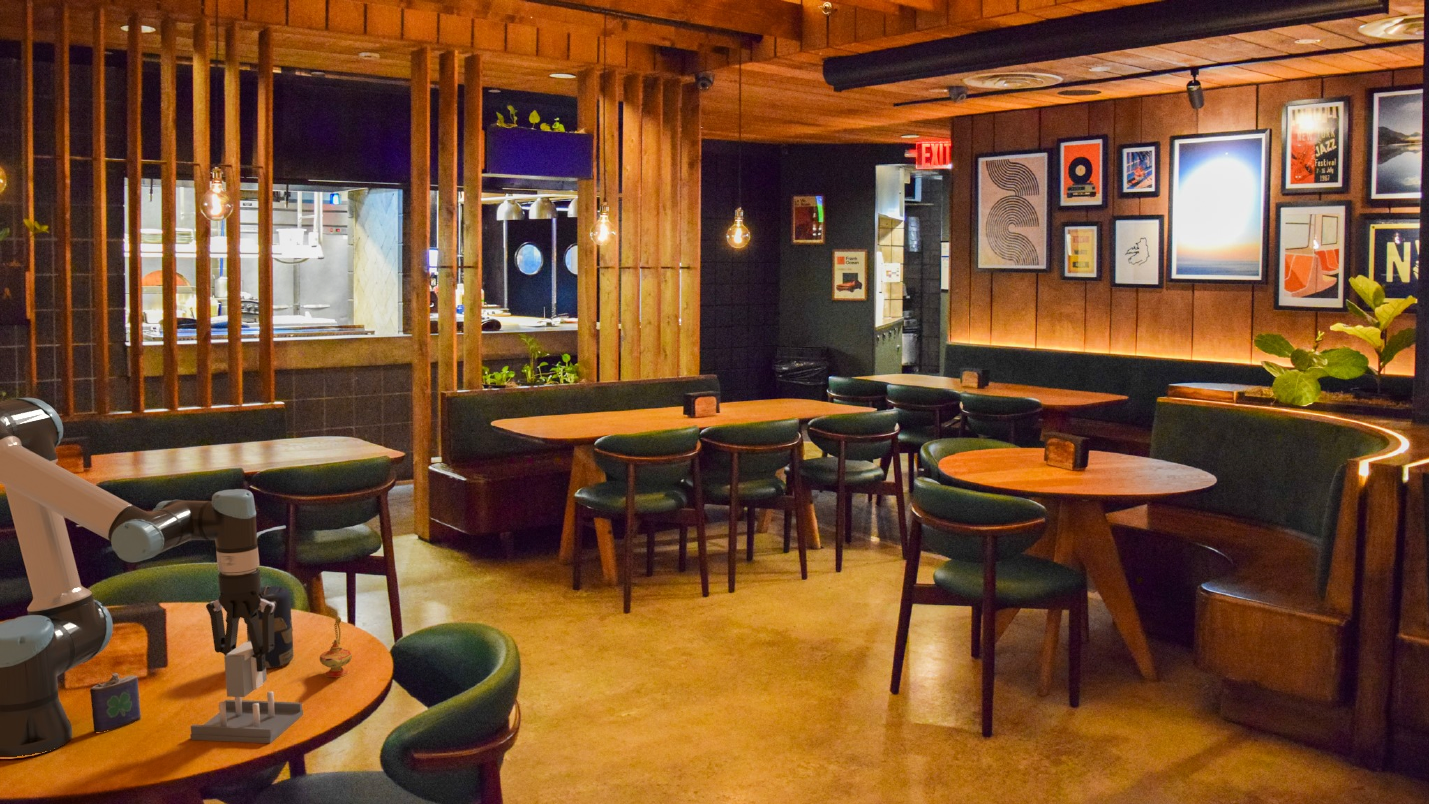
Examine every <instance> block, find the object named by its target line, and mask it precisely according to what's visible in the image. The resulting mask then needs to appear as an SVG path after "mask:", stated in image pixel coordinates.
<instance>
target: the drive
mask: <svg viewBox="0 0 1429 804" xmlns="http://www.w3.org/2000/svg"><path fill="white" fill-rule="evenodd" d="M252 655H254V652H253V648H252V644H251V641H248V640H247V641H244V642H242V643H241V644H240V645H238V646H236V648H235V649H234V650H232V651H231V652H229V653H228V654H227V655H226V656H225V655H224V657H223V658H224V671H225V672H224V673H225V684H226V687H225V689H226V697H230V698H232V697H233V698H235V697H241V698H245V697H247V696H249V694H251V693H252V692H253V691H255V690H256V689H253V684H252V671H251V656H252ZM262 675H263V684H264V683H265V682H266V681H267V668H265V670H263V671H262Z"/></svg>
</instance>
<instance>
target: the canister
mask: <svg viewBox="0 0 1429 804" xmlns="http://www.w3.org/2000/svg"><path fill="white" fill-rule="evenodd" d="M260 592H261V594H262V596H263V599H265V600H267V601H269V602H272V601H275V602H276V603H277V606H276V608H275V611H274V649H273V650H271V651H270V652H268V653H267V654H265V661H266V669H272V668H278V667H281V666H285V665H287V664H289V663H291V661H292V660H293V659H294V641H293V640H294V636H293V631H294V629H293V621H292V620H293V619H292V607H291V606H292V605H291V594H290V591H289V589H288V588H286V587H283V586H280V585H279V586H278V585H271V586H270V585H266V586H261V588H260ZM261 609H262V607H261V606H260V607H259V608H258V610H257V611H258V615H259V618H258V620H259V624H260V628H261V632H262V615H263V612H262V611H261ZM246 636H247V637H246V639H247V641H251V640H250V636H249V632H248V628H247V627H246Z"/></svg>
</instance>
